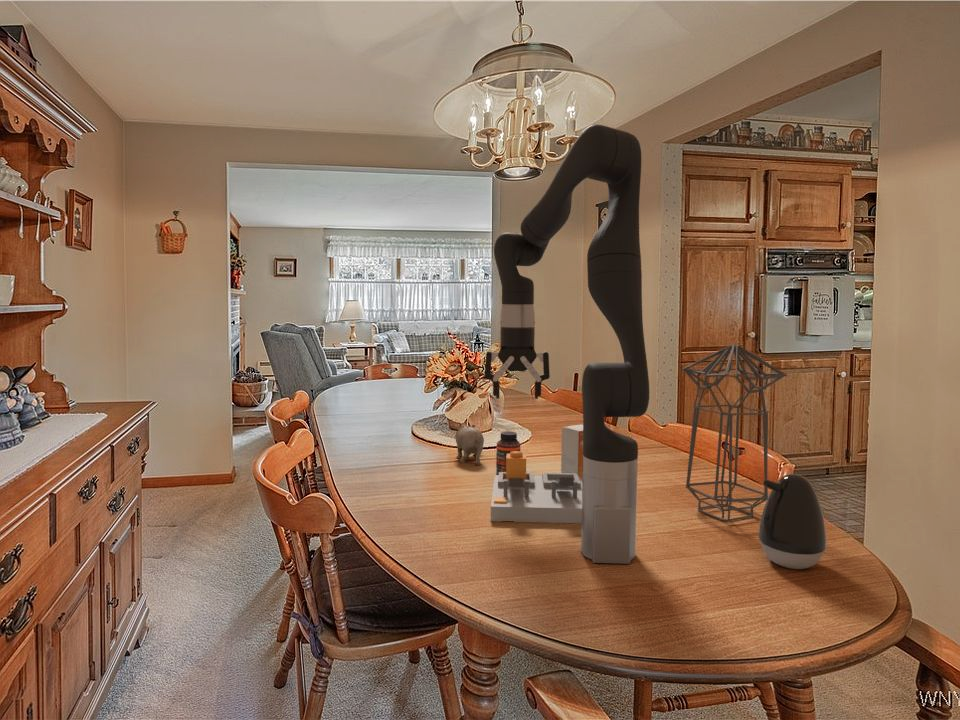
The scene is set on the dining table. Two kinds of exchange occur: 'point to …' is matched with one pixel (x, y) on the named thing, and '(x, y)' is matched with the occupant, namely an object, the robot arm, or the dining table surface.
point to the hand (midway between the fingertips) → (516, 398)
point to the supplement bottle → (505, 449)
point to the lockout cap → (516, 465)
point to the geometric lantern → (730, 423)
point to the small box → (572, 450)
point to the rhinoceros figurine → (469, 443)
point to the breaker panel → (537, 499)
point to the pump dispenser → (792, 523)
